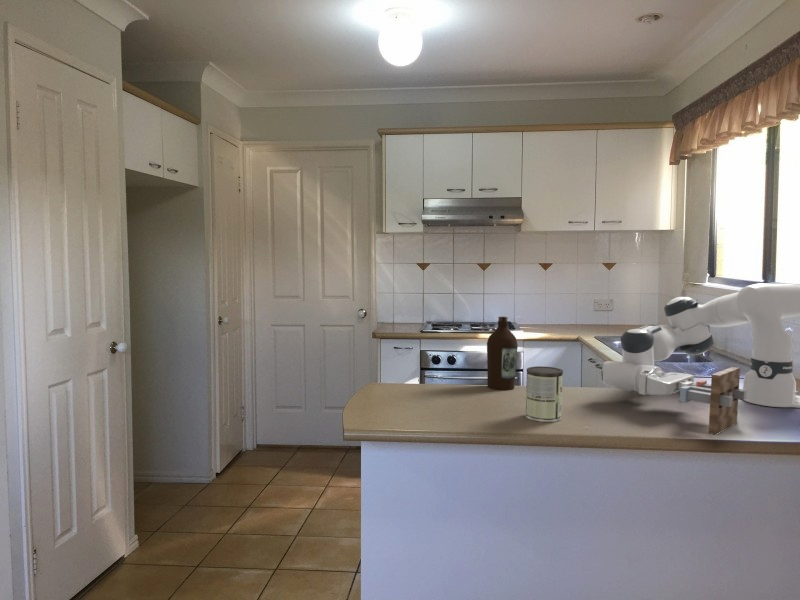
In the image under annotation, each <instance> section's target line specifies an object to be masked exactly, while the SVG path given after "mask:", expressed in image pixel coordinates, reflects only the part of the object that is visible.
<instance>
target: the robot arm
mask: <svg viewBox="0 0 800 600" xmlns="http://www.w3.org/2000/svg"><path fill="white" fill-rule="evenodd" d="M700 302H701V300H700V299H695V298H693V297H690V296H677V297H674V298H672V299H671V300H670V301H668V302H667V303H666V304H665V306H664V313H665V316H666V317H667V321H668V322H669V324H658V325H657V324H646V325H642V326H640V327H638V328H633V329H628V330H626V331H624V332H623V333H622V334H621V336H620V345H621V355H622V356H621V358H622V361H618V360H616V361H614V360H613V361H611V360H610V361H609V360H608V361H604V362H603V364H602V366H601V371H600V372H601V381H602V383H603V384H604V385H605V386H608V387H611V388H614V389H619V390H624V391H635V392H638V394H639V395H643V396H646V395H652V396H670V395H672V394H676V393H678V392H680V388H681V387H682V383H685V382H692V386H696V382H695V381H694V380H695V376H694V375H693V374H689V373H681V372H670V371H669V372H666V371H663V370H662V368H661V367H660V366H656V365H655V362H661V361H664V360H667V359H669V358H670V357H671V355H672V354H673V353H674V351H675V350H676V349H677V351H678V352H683V353H685V354H688V355H690V356H691V355H692V356H695V355H701V354H705V353H706V352H708V351H709V350H710V349H711V348H713V345H714V344H715V343H714V338H713V335H712V334H711V332H710V330H709V327H712V328H728V327H736V326H740V325H745V324H746V325H747V324H749V325H750V329H751V334H752V350H751V351H752V353H751V358H750V360H749V369H750V370H749V371H748V372H746V373H745V374H744V375H743V376H744V378H743V385H742V389H743V390H747V395H746V399H744V400H743V401H745V402H747V403H750V404H755V405H758V406H766V407H772V408H773V407H774V408H798V409H799V408H800V395H799V391H797V390H796V389H797V388H796V387H797V382H796V379H795V377H794V375H793V372H794V370H793V369H794V365H793V364H794V362H793V360H792V355H793V354H792V353H793V337H792V335H791V334H790V333H789V332H788V331H786V330H785V328H784V326H783V322H782V319H788V318H795V317H799V316H800V285H799V284H797V283H773V282H772V283H770V282H769V283H762V282H761V283H759V282H758V283H754V284H750V285H746V286H743V287H741V289H740V290H739V291H737V292H733V293H729V294H725V295H722V296H718V297H716V298H713V299H712V300H709V301H707V302H705V303H704V304H699V303H700ZM708 326H709V327H708Z"/></svg>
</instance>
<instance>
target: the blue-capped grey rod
mask: <svg viewBox="0 0 800 600" xmlns="http://www.w3.org/2000/svg"><path fill="white" fill-rule="evenodd" d="M679 392H680V393H679V403H685V404H686V403H688V402H690V401H692V402H698V403H704V404H709V405H710V397H711V393H707V392H701V391H695V390H691V386H684V387H681V388H680V391H679ZM732 401H733V397H732V396H726V395H720V397H719V405H721V406H727V407H730V406H732Z"/></svg>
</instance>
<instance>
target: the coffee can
mask: <svg viewBox="0 0 800 600" xmlns="http://www.w3.org/2000/svg"><path fill="white" fill-rule="evenodd" d="M563 375H564V370H563V369H561V368H558V367H553V366H552V367H551V366H538V365H537V366H530V367H527V368H526V390H525V391H526V393H525V394H526V395H525V396H526V397H525V418H526V419H528V420H531V421H535V422H540V423H553V422H554V423H555V422H559V421H561V420H562V403H563V402H562V401H563V399H562V396H563Z"/></svg>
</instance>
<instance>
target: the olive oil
mask: <svg viewBox="0 0 800 600" xmlns="http://www.w3.org/2000/svg"><path fill="white" fill-rule="evenodd" d="M497 318H498V320H497V328H496V329H495V330H494V331H493V332H492V333H491V334H490V335H489V336H488V338H487V343H486V355H487V356H486V358H487V359H486V363H487V365H486V366H487V367H486V368H487V383H486V384H487V388H489V389H492V390H497V391H499V390H500V391H510V390H511V391H512V390H513V389H515V387H516V386H515V385H516V384H515V382H516V376H517V371H516V369H517V356H518V348H519V346H518V340H517V337H515V335H514V334H513V332H512V331H511V330H510V329H509V328H508V323H509V321H508V316H498V317H497Z"/></svg>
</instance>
